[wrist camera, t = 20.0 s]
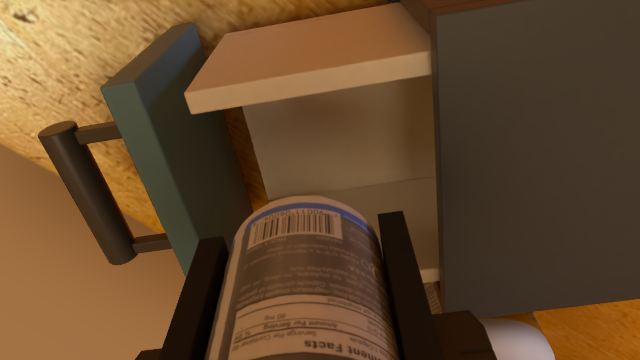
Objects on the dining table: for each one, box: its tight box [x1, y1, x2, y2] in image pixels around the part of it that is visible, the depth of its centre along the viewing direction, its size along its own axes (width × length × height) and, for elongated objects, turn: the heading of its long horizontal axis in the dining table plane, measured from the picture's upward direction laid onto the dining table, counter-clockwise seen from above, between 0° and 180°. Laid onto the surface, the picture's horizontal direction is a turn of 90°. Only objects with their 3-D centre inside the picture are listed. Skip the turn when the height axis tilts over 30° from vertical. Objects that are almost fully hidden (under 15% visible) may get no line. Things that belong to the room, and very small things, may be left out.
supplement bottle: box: [423, 282, 555, 360], centre depth 24 cm, size 7×7×13 cm
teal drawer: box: [38, 2, 440, 283], centre depth 20 cm, size 20×11×8 cm, turn 100°
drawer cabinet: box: [389, 0, 640, 318], centre depth 19 cm, size 16×13×10 cm
